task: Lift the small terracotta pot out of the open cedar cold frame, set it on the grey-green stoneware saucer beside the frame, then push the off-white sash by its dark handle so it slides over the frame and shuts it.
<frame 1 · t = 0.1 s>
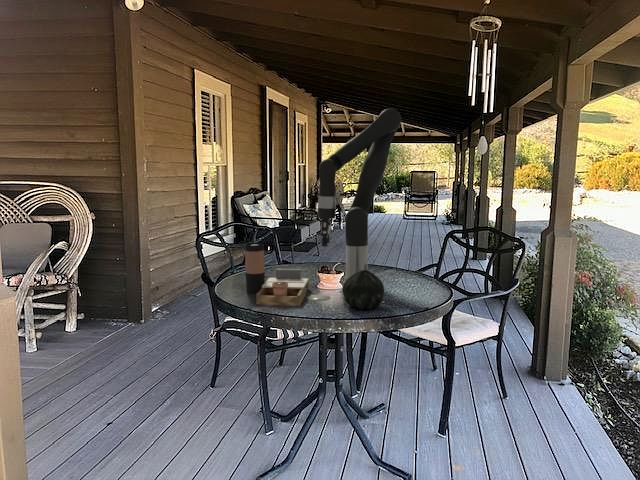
hand: (325, 244, 216), 17 cm above the table, tool pointing down, fingers open, 8 cm apart
travel mug: (255, 293, 204), on the table
cold frame: (281, 301, 191), on the table
saucer: (318, 299, 193), on the table
pot: (280, 301, 188), point 1 cm above the table, touching cold frame
squash: (363, 307, 184), on the table
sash: (285, 278, 199), point 7 cm above the table, slide at 9.0 cm
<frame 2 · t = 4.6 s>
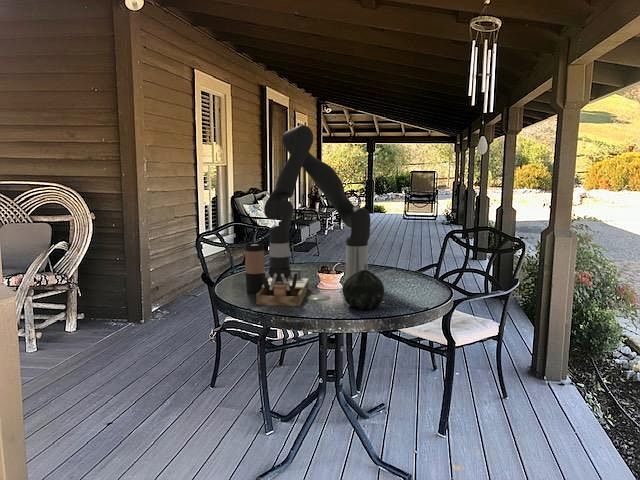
hand: (280, 299, 188), 2 cm above the table, tool pointing down, fingers closed on pot, 5 cm apart
pot: (280, 301, 188), point 1 cm above the table, touching cold frame, gripper
everything else where it was.
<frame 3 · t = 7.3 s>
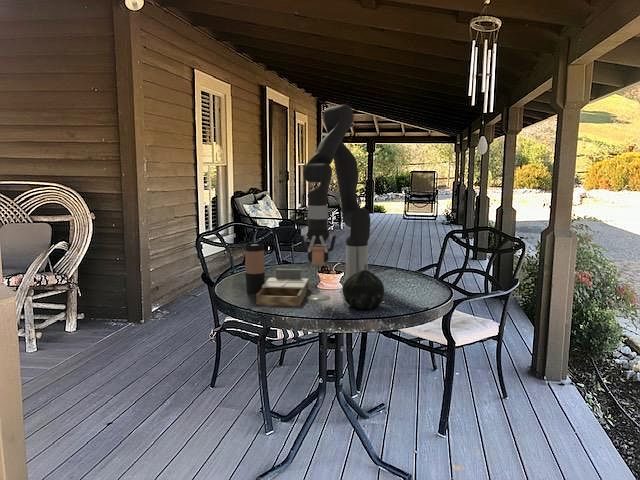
hand: (318, 261, 191), 15 cm above the table, tool pointing down, fingers closed on pot, 5 cm apart
pot: (318, 264, 191), point 14 cm above the table, touching gripper
everything else where it was.
when the fingers open (2 cm above the table, at t = 10.3 s): pot stays where it is, resting on saucer.
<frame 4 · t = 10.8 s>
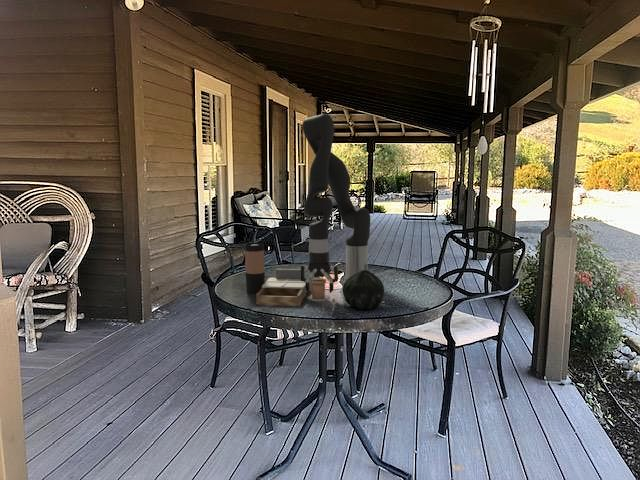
hand: (319, 292, 193), 3 cm above the table, tool pointing down, fingers open, 8 cm apart
pot: (318, 297, 193), point 1 cm above the table, touching saucer
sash: (285, 278, 199), point 7 cm above the table, slide at 9.0 cm, touching gripper
everything else where it was.
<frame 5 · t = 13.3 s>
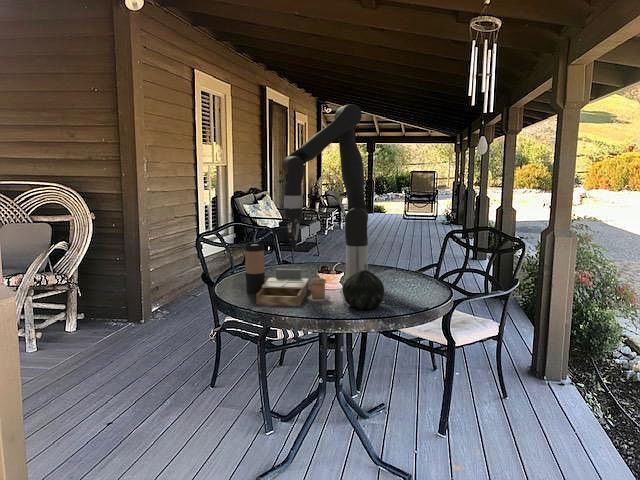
hand: (293, 248, 206), 17 cm above the table, tool pointing down, fingers closed
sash: (285, 278, 199), point 7 cm above the table, slide at 9.0 cm
everything else where it was.
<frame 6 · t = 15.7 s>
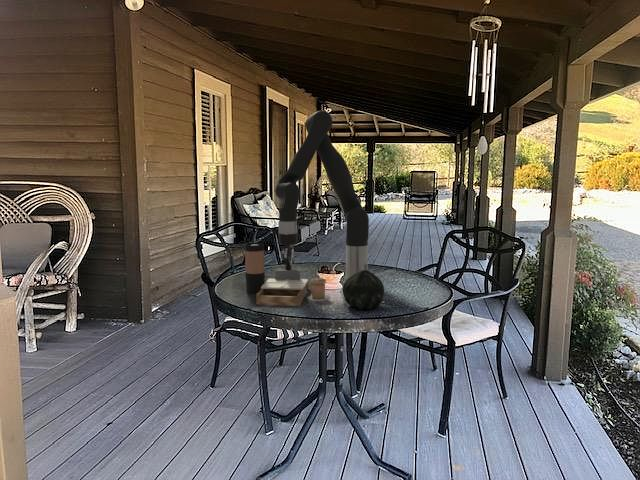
hand: (288, 273, 206), 7 cm above the table, tool pointing down, fingers closed
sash: (285, 279, 197), point 7 cm above the table, slide at 7.5 cm, touching gripper
everything else where it was.
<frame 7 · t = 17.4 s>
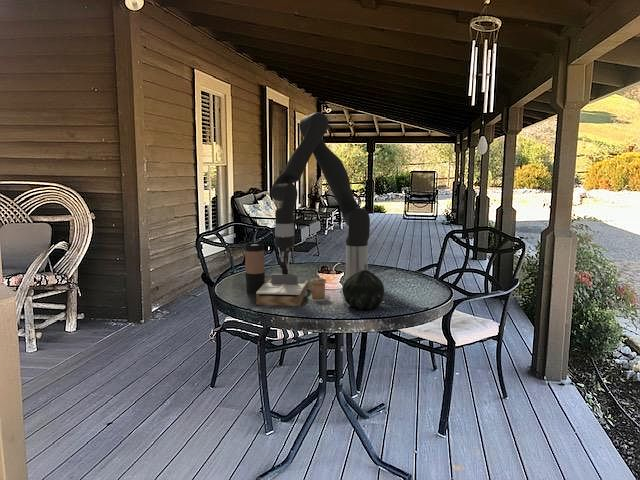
hand: (285, 278, 199), 7 cm above the table, tool pointing down, fingers closed
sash: (281, 283, 190), point 7 cm above the table, slide at 0.0 cm, touching gripper
everything else where it was.
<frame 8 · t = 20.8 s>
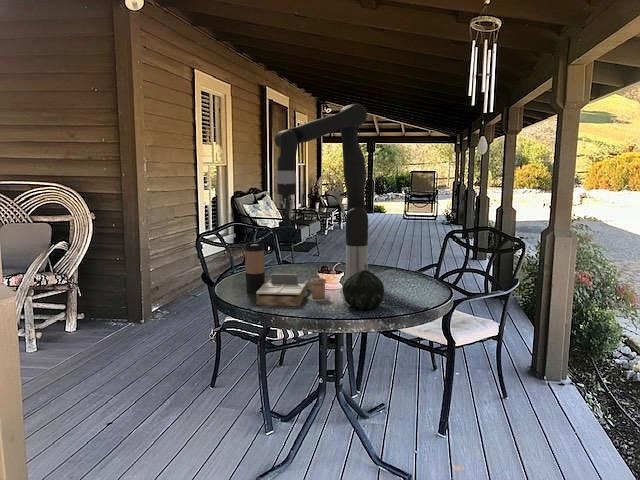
hand: (287, 226, 201), 27 cm above the table, tool pointing down, fingers closed
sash: (281, 283, 190), point 7 cm above the table, slide at 0.0 cm
everything else where it was.
at the end: pot 0.0 cm off-centre on the saucer, point 0.8 cm above the saucer's base; pot tilted 0°; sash slide at 0.0 cm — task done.
